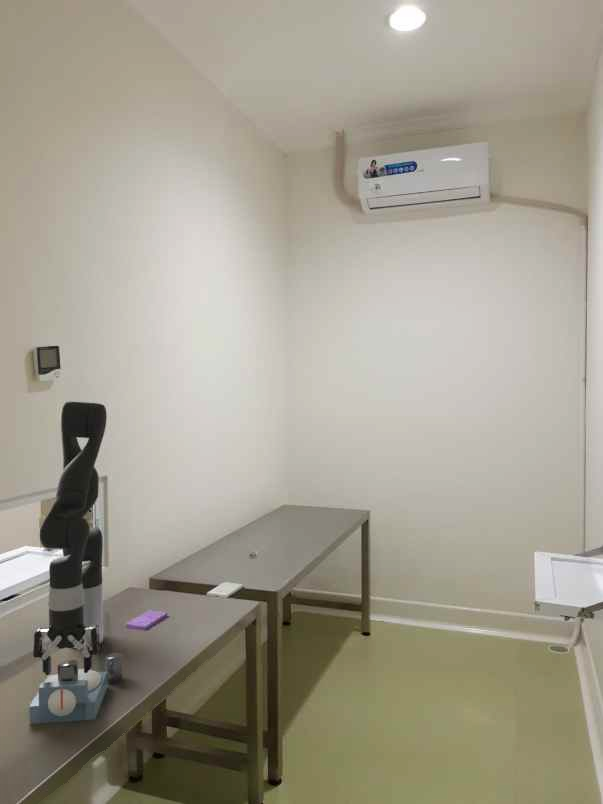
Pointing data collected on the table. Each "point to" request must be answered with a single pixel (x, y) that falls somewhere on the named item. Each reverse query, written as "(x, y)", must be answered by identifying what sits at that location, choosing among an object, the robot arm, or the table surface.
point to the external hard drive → (225, 589)
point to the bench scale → (69, 698)
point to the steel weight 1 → (68, 670)
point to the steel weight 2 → (114, 667)
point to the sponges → (146, 620)
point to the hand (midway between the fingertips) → (67, 672)
